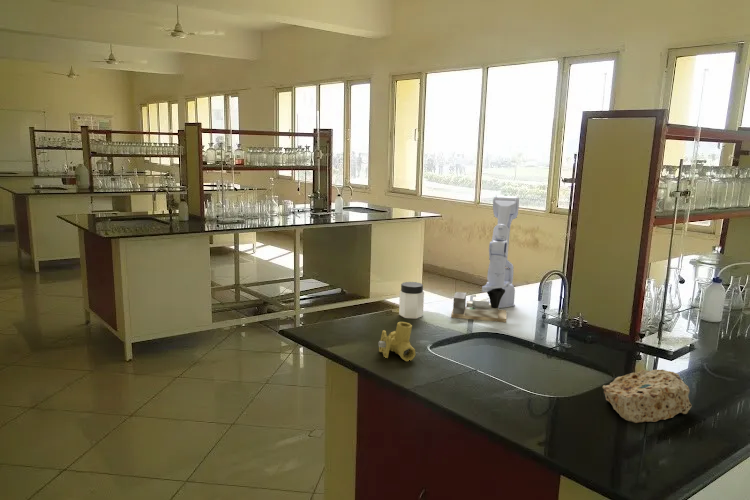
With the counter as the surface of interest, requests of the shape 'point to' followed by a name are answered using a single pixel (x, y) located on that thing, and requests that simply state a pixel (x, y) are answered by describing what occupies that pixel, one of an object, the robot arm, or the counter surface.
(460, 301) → the stand
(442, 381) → the counter surface
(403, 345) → the ball valve
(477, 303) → the grey box
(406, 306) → the jar
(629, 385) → the rock
